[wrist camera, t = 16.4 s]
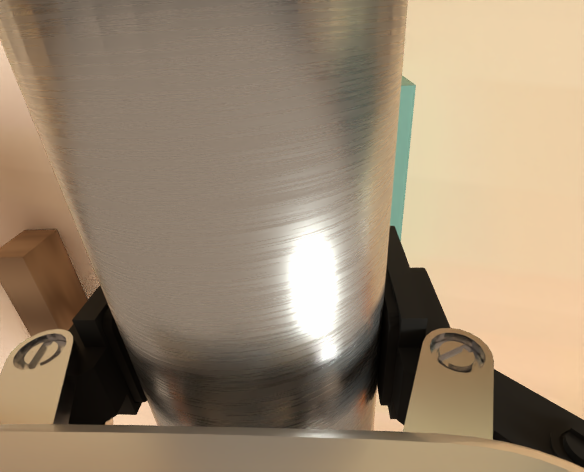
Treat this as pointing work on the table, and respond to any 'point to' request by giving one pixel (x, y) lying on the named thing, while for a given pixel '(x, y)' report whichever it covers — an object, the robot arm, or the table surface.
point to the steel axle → (227, 191)
